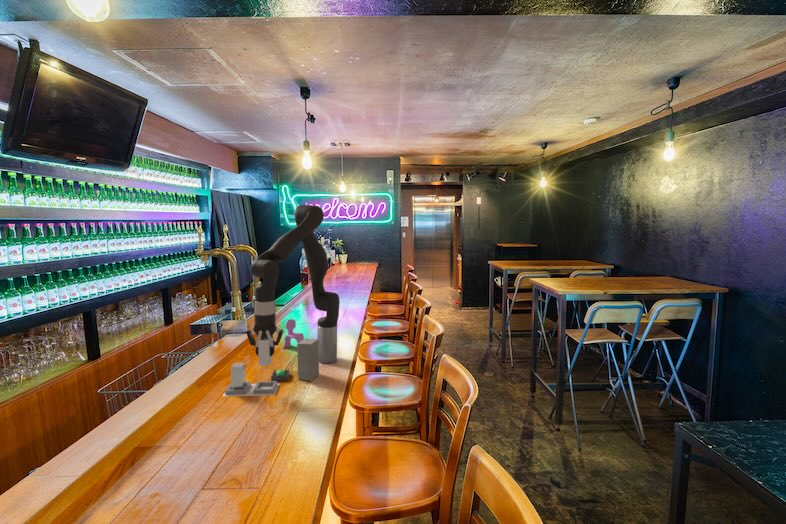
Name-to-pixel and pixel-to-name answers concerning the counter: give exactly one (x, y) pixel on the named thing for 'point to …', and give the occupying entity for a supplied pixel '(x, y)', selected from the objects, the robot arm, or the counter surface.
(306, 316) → the counter surface
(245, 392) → the grey socket board
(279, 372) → the button
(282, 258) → the robot arm
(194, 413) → the counter surface
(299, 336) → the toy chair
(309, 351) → the skincare box
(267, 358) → the block
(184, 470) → the counter surface
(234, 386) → the block
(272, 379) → the button housing
